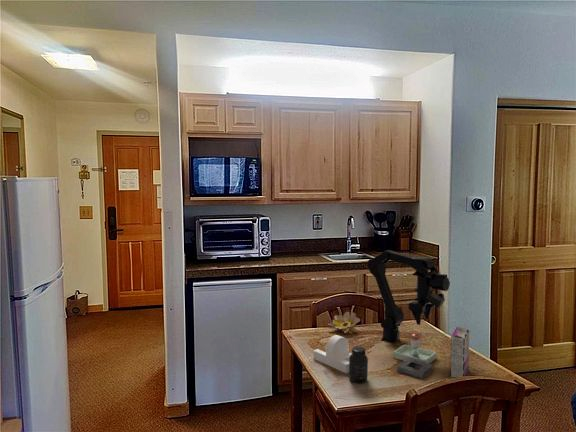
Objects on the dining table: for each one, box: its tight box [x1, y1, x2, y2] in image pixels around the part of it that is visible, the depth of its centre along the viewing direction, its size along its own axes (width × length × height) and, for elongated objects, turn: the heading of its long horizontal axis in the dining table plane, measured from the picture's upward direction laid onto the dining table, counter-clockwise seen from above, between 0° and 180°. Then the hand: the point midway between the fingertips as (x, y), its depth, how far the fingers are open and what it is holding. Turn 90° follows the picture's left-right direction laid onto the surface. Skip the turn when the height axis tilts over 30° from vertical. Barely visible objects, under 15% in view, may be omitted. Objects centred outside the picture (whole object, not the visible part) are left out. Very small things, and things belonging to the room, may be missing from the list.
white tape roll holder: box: [313, 334, 352, 374], centre depth 170 cm, size 18×10×11 cm, turn 41°
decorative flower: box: [327, 311, 361, 334], centre depth 207 cm, size 15×11×10 cm
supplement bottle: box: [348, 345, 369, 385], centre depth 154 cm, size 7×7×12 cm
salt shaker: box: [408, 331, 422, 358], centre depth 174 cm, size 5×5×10 cm
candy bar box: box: [450, 326, 470, 379], centre depth 160 cm, size 11×5×16 cm, turn 148°
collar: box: [396, 358, 433, 380], centre depth 163 cm, size 10×10×2 cm
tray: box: [392, 343, 437, 365], centre depth 175 cm, size 14×11×2 cm
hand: (422, 321), depth 182 cm, fingers open, 9 cm apart
